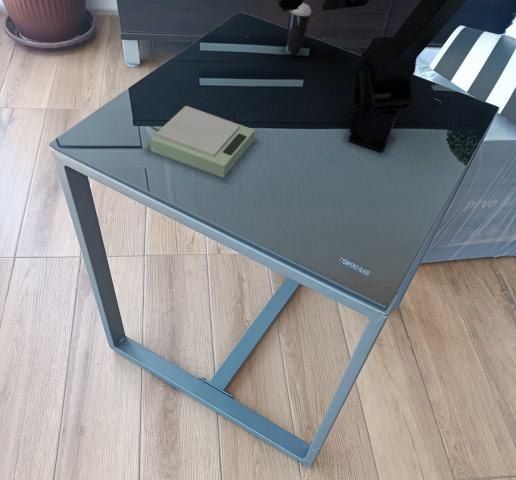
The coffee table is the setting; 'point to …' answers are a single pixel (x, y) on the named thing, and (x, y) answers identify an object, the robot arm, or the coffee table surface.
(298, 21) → the milkshake
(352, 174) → the coffee table surface
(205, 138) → the scale
